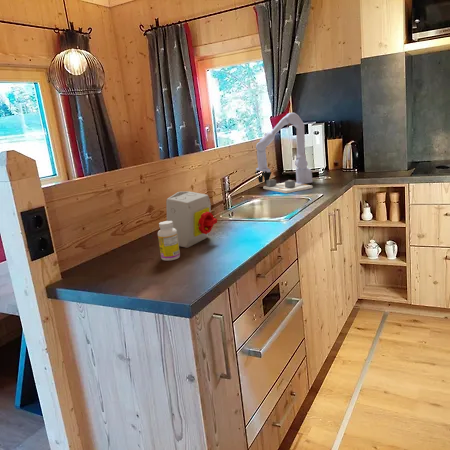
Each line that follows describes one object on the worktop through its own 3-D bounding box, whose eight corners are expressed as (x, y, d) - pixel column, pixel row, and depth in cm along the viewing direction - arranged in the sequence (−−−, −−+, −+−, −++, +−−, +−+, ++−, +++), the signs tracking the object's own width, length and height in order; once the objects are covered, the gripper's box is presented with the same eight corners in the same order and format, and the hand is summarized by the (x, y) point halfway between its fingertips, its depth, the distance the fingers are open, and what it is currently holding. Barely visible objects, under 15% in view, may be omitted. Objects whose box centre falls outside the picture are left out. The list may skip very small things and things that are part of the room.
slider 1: (272, 184, 267) (272, 178, 266) (276, 185, 263) (275, 179, 262) (266, 185, 265) (266, 179, 264) (270, 186, 262) (269, 180, 261)
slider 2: (290, 186, 256) (290, 179, 255) (295, 186, 252) (294, 180, 251) (285, 187, 254) (284, 180, 253) (289, 187, 250) (288, 181, 249)
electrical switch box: (199, 255, 157) (199, 202, 151) (167, 246, 164) (166, 195, 158) (220, 243, 169) (221, 193, 163) (190, 235, 176) (189, 188, 170)
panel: (287, 184, 275) (287, 181, 274) (312, 188, 252) (312, 185, 251) (263, 188, 268) (263, 186, 267) (286, 193, 245) (286, 190, 244)
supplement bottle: (161, 256, 153) (156, 221, 150) (180, 254, 153) (175, 219, 150) (160, 262, 146) (155, 225, 143) (180, 259, 147) (175, 223, 144)
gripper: (251, 161, 274) (252, 182, 277) (262, 162, 261) (264, 185, 264) (260, 160, 276) (262, 181, 280) (272, 161, 263) (274, 183, 267)
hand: (263, 182), depth 272 cm, fingers open, 7 cm apart
